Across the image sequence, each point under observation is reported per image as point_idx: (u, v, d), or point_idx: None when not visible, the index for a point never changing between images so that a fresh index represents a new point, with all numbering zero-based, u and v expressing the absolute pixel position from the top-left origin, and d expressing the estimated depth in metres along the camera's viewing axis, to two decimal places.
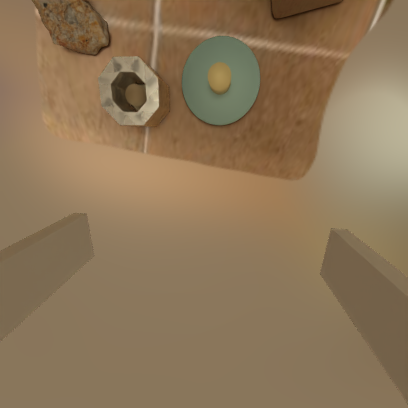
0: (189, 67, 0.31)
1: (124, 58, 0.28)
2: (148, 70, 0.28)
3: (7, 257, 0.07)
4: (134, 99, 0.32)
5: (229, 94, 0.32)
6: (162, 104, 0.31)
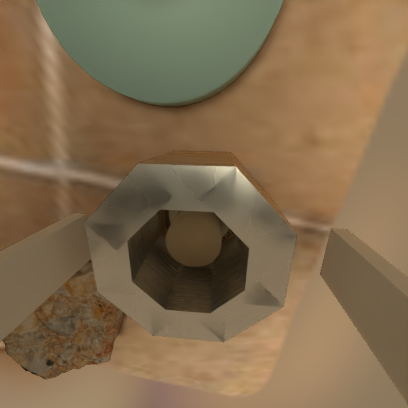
0: (118, 75, 0.10)
1: (96, 263, 0.09)
2: (118, 195, 0.08)
3: (7, 257, 0.07)
4: (203, 245, 0.11)
5: None
6: (223, 160, 0.09)
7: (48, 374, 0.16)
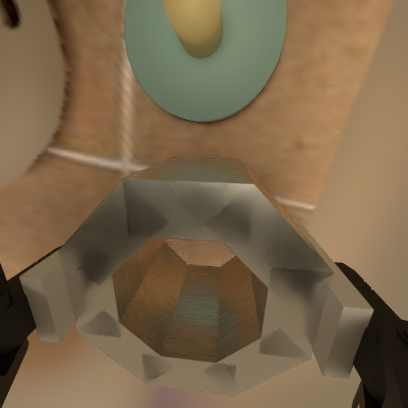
0: (174, 104, 0.17)
1: (74, 299, 0.07)
2: (99, 217, 0.06)
3: None
4: None
5: (222, 7, 0.14)
6: (234, 172, 0.07)
7: None
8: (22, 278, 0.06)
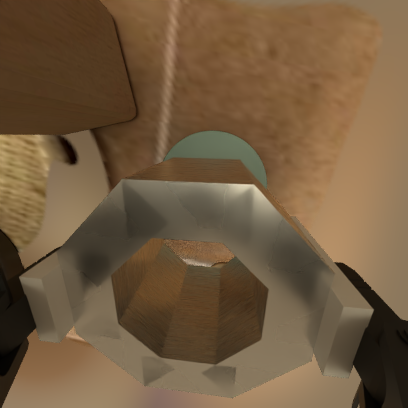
0: None
1: (73, 300, 0.07)
2: (98, 218, 0.06)
3: None
4: None
5: None
6: (234, 172, 0.07)
7: None
8: (22, 278, 0.06)
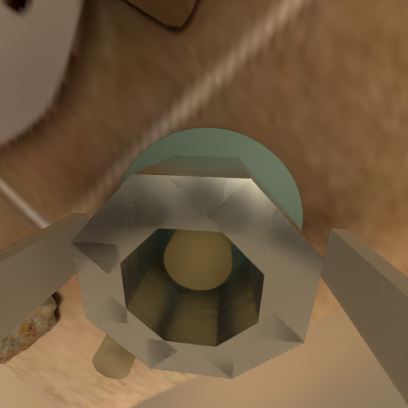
0: None
1: (85, 287, 0.08)
2: (109, 210, 0.07)
3: (7, 257, 0.07)
4: (116, 369, 0.16)
5: None
6: (233, 169, 0.08)
7: None
8: None
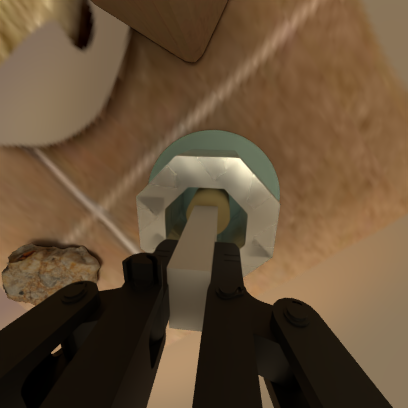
0: None
1: (141, 226, 0.13)
2: (160, 177, 0.12)
3: (195, 237, 0.09)
4: None
5: None
6: (231, 154, 0.13)
7: (14, 297, 0.23)
8: (170, 269, 0.07)
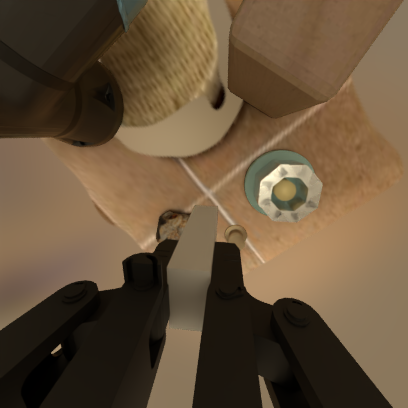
0: (251, 196, 0.37)
1: (260, 194, 0.31)
2: (273, 172, 0.30)
3: (195, 238, 0.09)
4: (238, 246, 0.39)
5: None
6: (300, 163, 0.31)
7: None
8: (170, 269, 0.07)
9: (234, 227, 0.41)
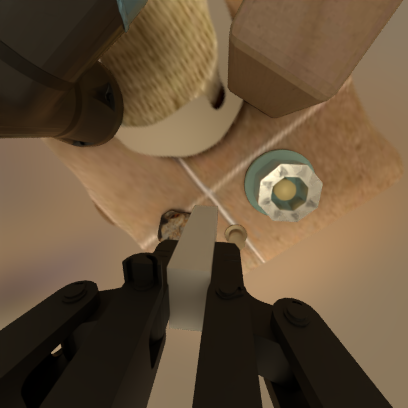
0: (251, 196, 0.37)
1: (260, 194, 0.31)
2: (273, 172, 0.30)
3: (195, 237, 0.09)
4: (238, 246, 0.39)
5: None
6: (300, 163, 0.31)
7: (163, 240, 0.40)
8: (170, 269, 0.07)
9: (234, 227, 0.41)
